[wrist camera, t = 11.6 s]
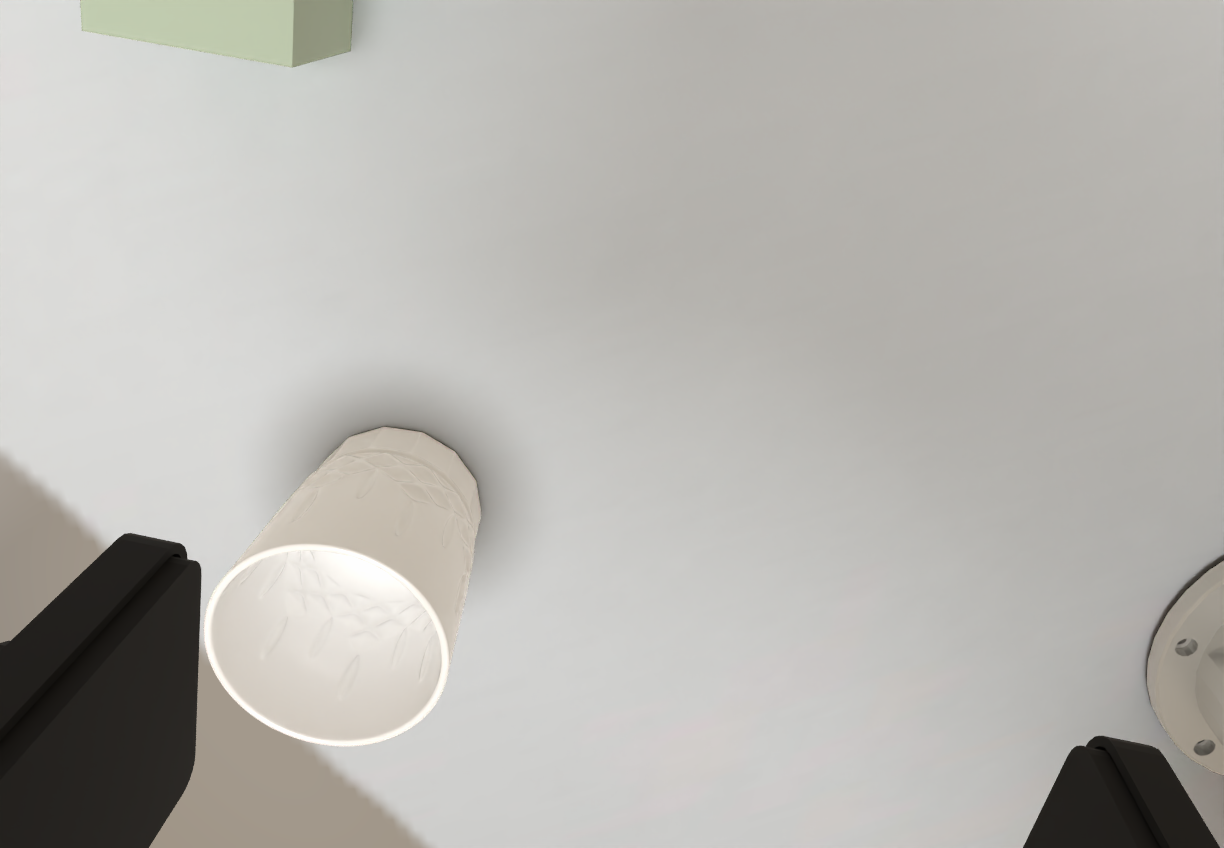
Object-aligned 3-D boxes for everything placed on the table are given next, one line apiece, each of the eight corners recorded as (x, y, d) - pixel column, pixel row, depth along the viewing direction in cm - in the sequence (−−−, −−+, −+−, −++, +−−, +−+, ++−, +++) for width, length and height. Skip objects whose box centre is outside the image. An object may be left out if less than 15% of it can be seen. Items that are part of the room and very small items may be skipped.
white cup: (507, 577, 43) (465, 743, 34) (325, 586, 43) (235, 751, 34) (481, 405, 39) (426, 538, 30) (285, 418, 40) (174, 551, 31)
